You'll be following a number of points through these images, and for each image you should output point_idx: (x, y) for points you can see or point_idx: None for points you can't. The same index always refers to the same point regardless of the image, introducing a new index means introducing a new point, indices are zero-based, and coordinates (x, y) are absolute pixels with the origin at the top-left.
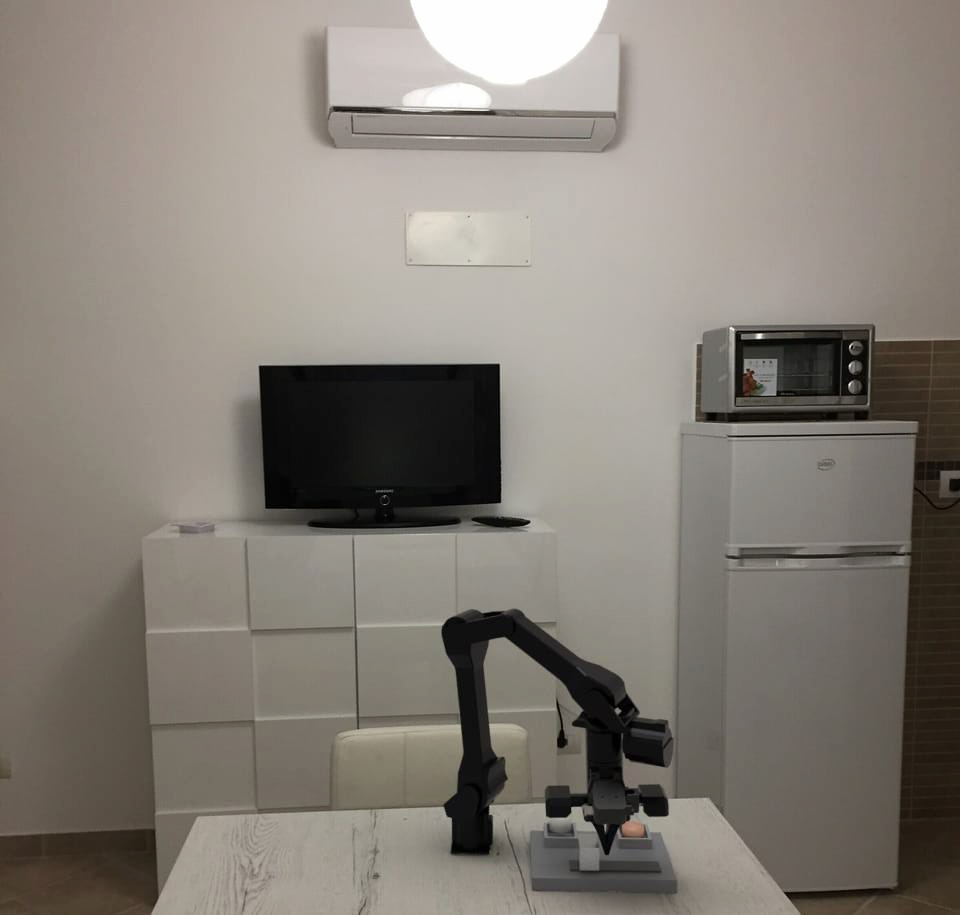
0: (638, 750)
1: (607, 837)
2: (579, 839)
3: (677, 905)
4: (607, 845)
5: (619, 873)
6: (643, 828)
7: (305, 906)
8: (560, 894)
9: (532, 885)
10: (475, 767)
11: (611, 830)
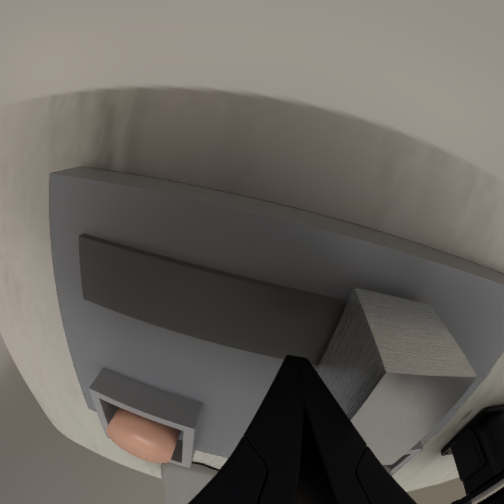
0: None
1: (300, 441)
2: (422, 435)
3: (98, 94)
4: (299, 394)
5: (252, 265)
6: (108, 429)
7: None
8: (472, 242)
9: None
10: None
11: (271, 492)
